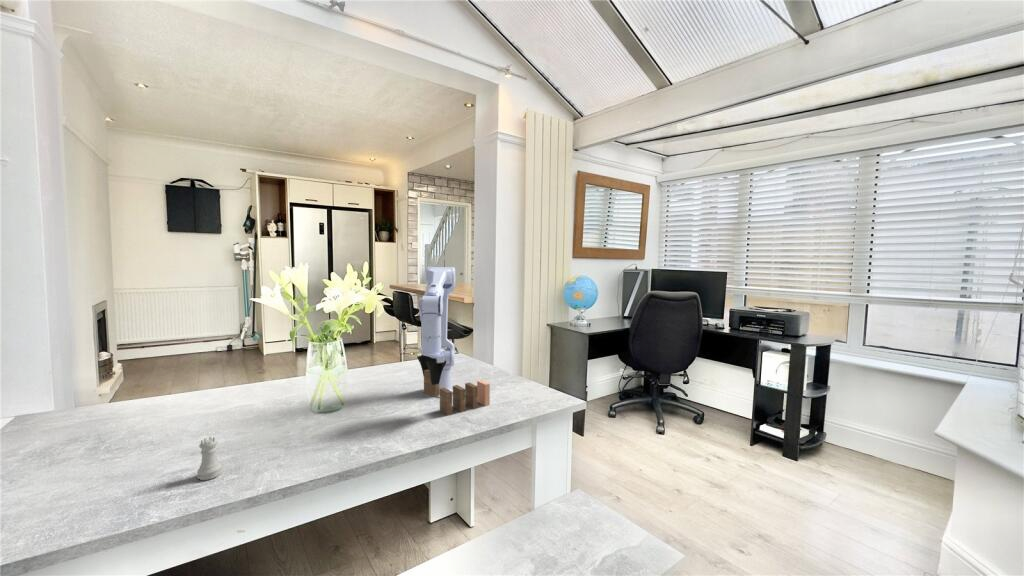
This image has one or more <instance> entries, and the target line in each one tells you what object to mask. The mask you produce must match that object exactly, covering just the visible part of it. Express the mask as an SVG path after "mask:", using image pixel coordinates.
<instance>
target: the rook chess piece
mask: <svg viewBox="0 0 1024 576" xmlns="http://www.w3.org/2000/svg"><path fill="white" fill-rule="evenodd" d="M218 443H219V442H218V440H216V437H215V436H214V437H213V436H209V438H207V437H206V438H203V439H201V441H200V444H199V446H198V447H199V448H200V449H201V451H200V454H201V463H200V465H199V468H198V469H197V476H196V478H197V479H198V480H199V479H200V480H199V481H210V480H212V479H213V478H214V479H215V477H216V478H217V476H218V477H219V476H220V475H221V474H222V473H223V469H222V467H223V466H222V463H220V460H219V461H218V457H217V450H218V449H217V447H216V446H217V444H218ZM209 479H210V480H209Z"/></svg>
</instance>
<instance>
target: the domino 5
mask: <svg viewBox="0 0 1024 576" xmlns="http://www.w3.org/2000/svg"><path fill="white" fill-rule="evenodd" d="M490 385H491V384H490V383H489V382H487V381H484V380H482V379H481V380H479V379H478V380H476V386H478V404H480V405H482V406H484V407H487V406H488V407H489V406H490V405H491V404H490V403H491V402H490V401H491V400H490V399H491V397H490V395H491V394H490V393H491V391H490V389H491V388H490Z"/></svg>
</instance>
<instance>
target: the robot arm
mask: <svg viewBox="0 0 1024 576" xmlns="http://www.w3.org/2000/svg"><path fill="white" fill-rule="evenodd" d="M425 282H426V285H427V286H426V288H425V291H424V294H423V296H421V297H419V300H418V311H419V321H420V323H421V325H420V328H421V330H420V331H421V340H420V341H421V346H419V354H420V355H418V356H417V357H416V359H417V360H418V362H419V364H420V367H421V371H422V375H423V377H424V370H429V372H430V379H431V383H432V385H435V384H439V396H437V397H436V398H440V388H446V389H448V390H450V391H452V394H453V388H452V375H451V373H452V369H451V368H452V367H454V366H455V363H456V362H455V361H456V352H455V351H456V350H455V348H456V347H455V344H454V343H453V342H452V341H450V340H449V339H448V321H449V320H448V318H449V317H448V315H449V314H448V313H449V311H448V310H449V297H450V294H451V293H453V292H454V291H455V288H456V268H455V267H454V266H451V267H450V266H447V267H446V266H445V267H444V266H443V267H442V266H435V267H434V266H427V268H426V270H425ZM421 391H422V392H423V393H424V389H422V390H421Z"/></svg>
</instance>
